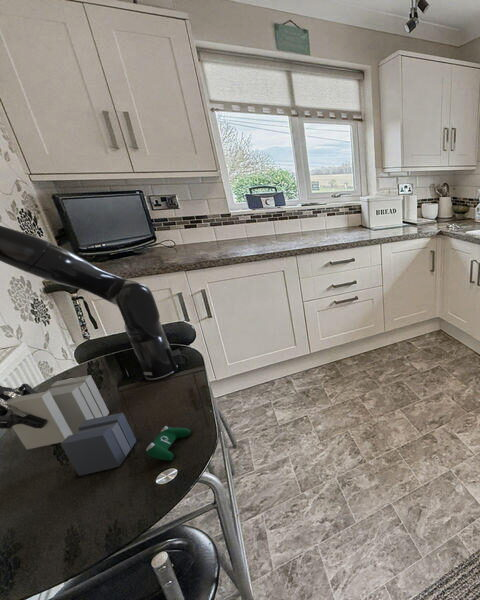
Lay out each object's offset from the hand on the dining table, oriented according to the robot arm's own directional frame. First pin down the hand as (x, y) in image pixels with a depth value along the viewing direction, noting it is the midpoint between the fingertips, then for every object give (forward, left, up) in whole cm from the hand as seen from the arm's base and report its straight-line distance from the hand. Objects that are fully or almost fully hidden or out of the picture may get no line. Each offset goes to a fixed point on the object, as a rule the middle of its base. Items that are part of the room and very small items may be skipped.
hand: (49, 420), depth 77 cm
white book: (+2, -1, -6) cm, 6 cm away
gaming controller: (-21, +16, -10) cm, 29 cm away
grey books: (-9, +10, -10) cm, 16 cm away
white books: (-2, -10, -10) cm, 14 cm away
